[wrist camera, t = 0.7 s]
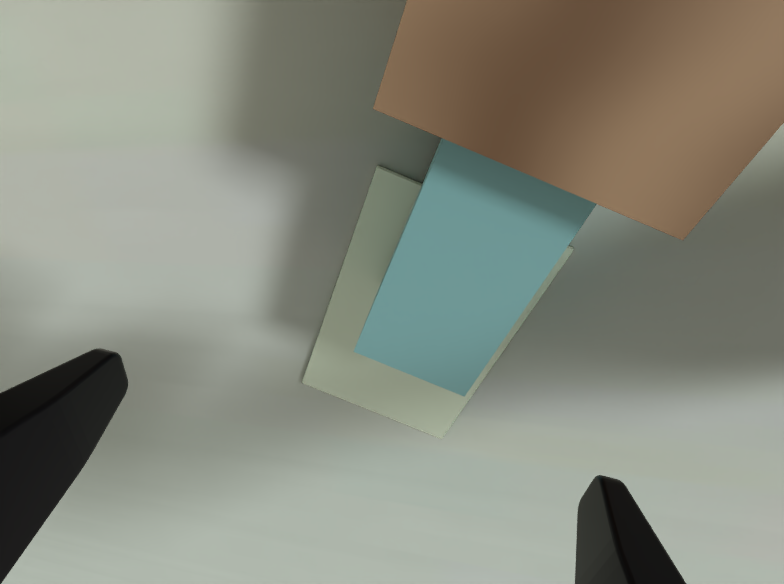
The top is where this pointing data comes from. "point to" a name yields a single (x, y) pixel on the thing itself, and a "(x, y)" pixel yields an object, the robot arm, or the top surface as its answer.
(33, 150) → the top surface
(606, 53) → the tunnel
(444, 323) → the bar
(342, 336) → the pad
